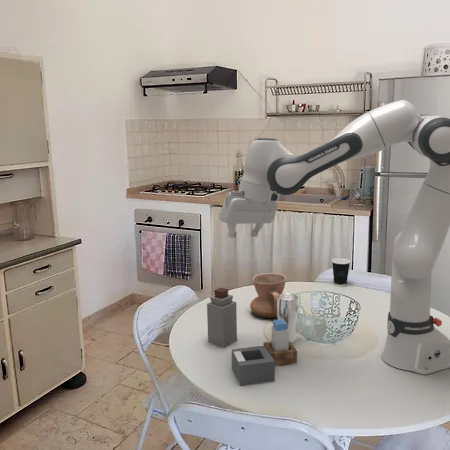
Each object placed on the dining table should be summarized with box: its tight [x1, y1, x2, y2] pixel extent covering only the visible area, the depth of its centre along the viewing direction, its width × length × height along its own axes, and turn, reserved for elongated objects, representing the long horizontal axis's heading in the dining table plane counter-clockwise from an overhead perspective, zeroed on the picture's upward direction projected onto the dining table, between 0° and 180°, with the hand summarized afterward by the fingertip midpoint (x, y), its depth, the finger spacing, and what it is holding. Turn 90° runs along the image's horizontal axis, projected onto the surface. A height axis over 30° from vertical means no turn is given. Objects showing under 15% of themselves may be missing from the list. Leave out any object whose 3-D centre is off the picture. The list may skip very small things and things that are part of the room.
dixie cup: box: [331, 257, 352, 288], centre depth 213 cm, size 8×8×11 cm
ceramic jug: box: [249, 272, 287, 319], centre depth 183 cm, size 18×14×14 cm
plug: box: [271, 319, 289, 352], centre depth 149 cm, size 4×4×12 cm
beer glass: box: [276, 292, 299, 344], centre depth 162 cm, size 7×7×15 cm
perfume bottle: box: [206, 287, 238, 349], centre depth 161 cm, size 7×7×18 cm
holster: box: [263, 340, 298, 367], centre depth 150 cm, size 8×8×4 cm
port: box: [231, 344, 276, 386], centre depth 141 cm, size 10×10×6 cm
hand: (242, 236), depth 147 cm, fingers open, 8 cm apart
